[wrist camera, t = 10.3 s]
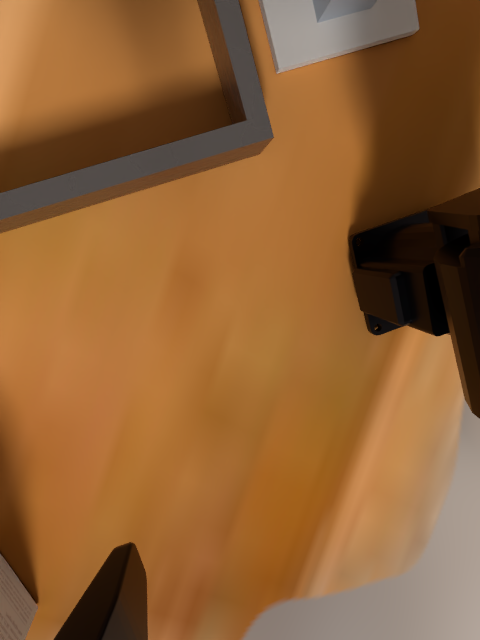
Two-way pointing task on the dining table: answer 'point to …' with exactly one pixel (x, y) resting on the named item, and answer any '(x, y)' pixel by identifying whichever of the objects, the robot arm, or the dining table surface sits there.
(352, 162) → the dining table surface
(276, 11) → the mat
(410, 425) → the dining table surface
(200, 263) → the dining table surface
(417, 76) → the dining table surface
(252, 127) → the rack
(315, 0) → the grey rectangular block
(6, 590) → the supplement box
